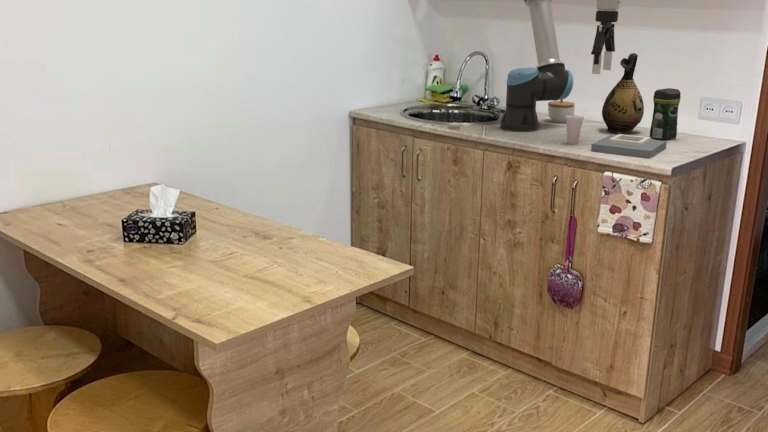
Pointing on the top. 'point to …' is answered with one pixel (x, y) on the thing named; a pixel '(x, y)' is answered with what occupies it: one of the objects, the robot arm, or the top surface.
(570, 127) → the smoothie
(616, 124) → the ceramic jug
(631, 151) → the plinth
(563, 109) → the lidded jar
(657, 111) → the coffee jar
